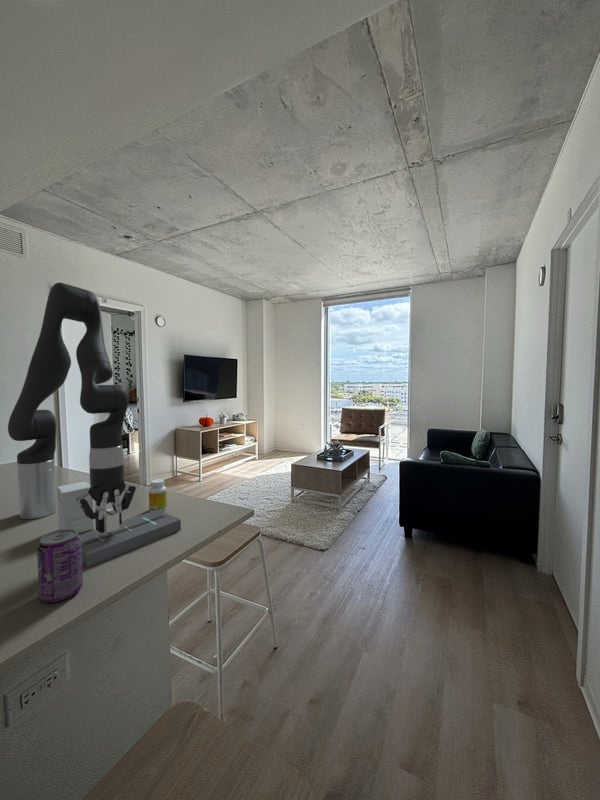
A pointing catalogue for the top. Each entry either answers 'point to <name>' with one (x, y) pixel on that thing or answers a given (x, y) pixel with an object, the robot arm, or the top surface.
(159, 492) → the supplement bottle
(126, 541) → the console
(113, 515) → the fader knob
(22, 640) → the top surface
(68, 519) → the supplement box
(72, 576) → the beverage can
